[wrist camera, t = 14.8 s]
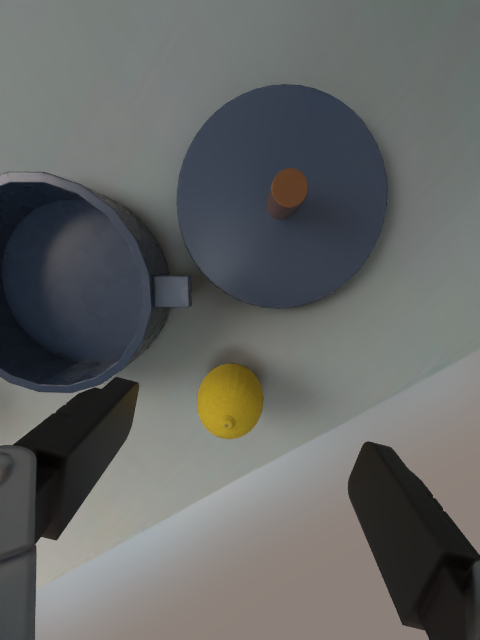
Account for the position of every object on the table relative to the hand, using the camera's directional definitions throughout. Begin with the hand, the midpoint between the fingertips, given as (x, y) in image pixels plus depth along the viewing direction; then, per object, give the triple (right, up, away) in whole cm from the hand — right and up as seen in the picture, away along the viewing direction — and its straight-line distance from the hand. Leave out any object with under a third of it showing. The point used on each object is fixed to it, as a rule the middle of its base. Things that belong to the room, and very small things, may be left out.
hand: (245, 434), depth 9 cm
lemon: (-1, -2, +18) cm, 18 cm away
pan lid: (+3, +14, +14) cm, 19 cm away
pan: (-15, +7, +16) cm, 23 cm away
